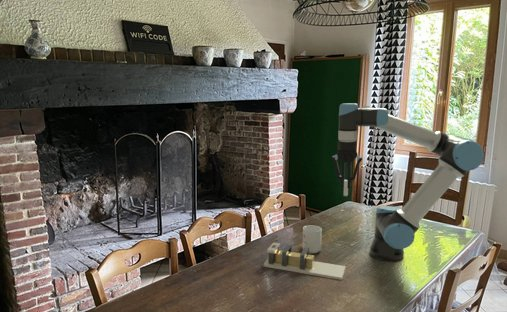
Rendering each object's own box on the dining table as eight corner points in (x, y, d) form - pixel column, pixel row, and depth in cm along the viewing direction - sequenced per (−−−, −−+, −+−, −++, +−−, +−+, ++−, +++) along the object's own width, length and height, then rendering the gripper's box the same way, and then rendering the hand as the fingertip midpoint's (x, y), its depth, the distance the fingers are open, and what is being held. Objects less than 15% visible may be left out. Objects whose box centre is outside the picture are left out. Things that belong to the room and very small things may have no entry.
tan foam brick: (314, 264, 171) (314, 254, 170) (311, 268, 167) (312, 258, 166) (270, 257, 178) (270, 247, 177) (267, 261, 174) (267, 251, 173)
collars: (308, 261, 174) (309, 247, 173) (304, 269, 166) (304, 255, 165) (273, 255, 180) (273, 242, 179) (267, 263, 172) (267, 249, 171)
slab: (345, 268, 170) (345, 266, 169) (341, 280, 160) (342, 277, 159) (271, 256, 182) (271, 254, 181) (263, 266, 171) (263, 264, 171)
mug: (324, 252, 186) (325, 230, 184) (308, 255, 182) (309, 233, 180) (311, 243, 197) (311, 222, 195) (295, 246, 193) (296, 224, 191)
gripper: (364, 140, 165) (362, 194, 169) (333, 138, 169) (331, 191, 173) (362, 142, 158) (360, 198, 162) (330, 141, 162) (329, 196, 166)
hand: (345, 195), depth 167 cm, fingers closed
